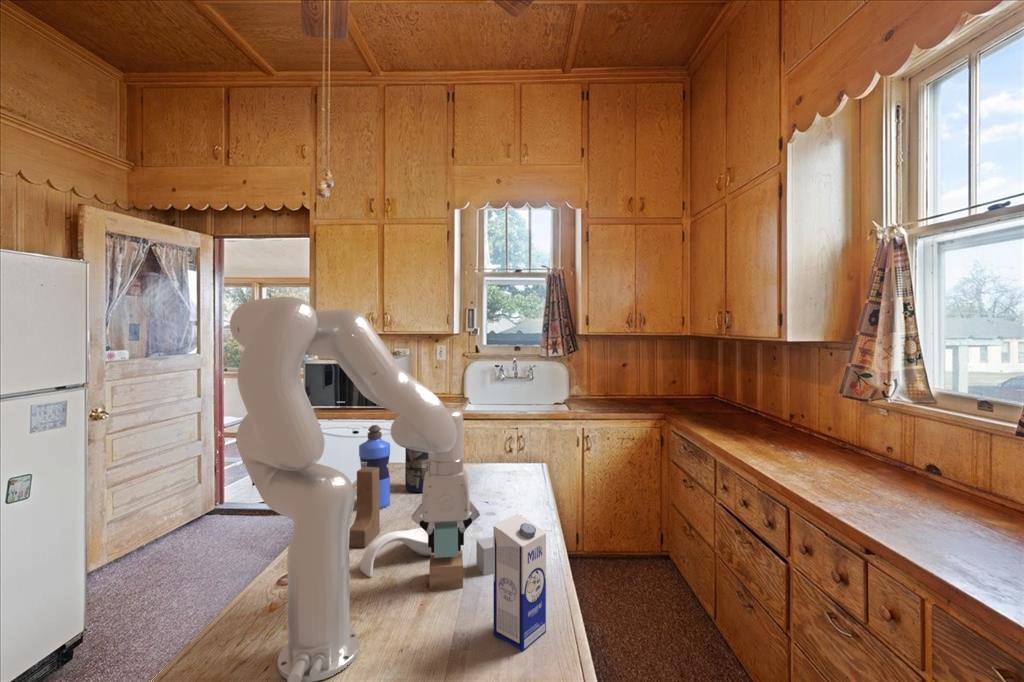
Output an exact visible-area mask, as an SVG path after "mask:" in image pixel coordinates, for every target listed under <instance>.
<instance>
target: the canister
mask: <svg viewBox="0 0 1024 682" xmlns="http://www.w3.org/2000/svg"><path fill="white" fill-rule="evenodd" d="M404 457H405V459H404V460H405V461H404V462H405V467H404V469H405V470H404V471H405V472H404V474H405V475H404V477H405V481H404V483H405V485H404V486H405V489H406V490H407V491H408V492H412V493H423V482H424V477H425V474H426V472H427V471H428V470H427V468H422V462H425V461H427V459H428V453H426V452H422V451H416V450H412V449H407V448H405V456H404Z"/></svg>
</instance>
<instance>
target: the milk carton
mask: <svg viewBox="0 0 1024 682" xmlns="http://www.w3.org/2000/svg"><path fill="white" fill-rule="evenodd" d="M492 527H493V529H492V530H493V536H492V537H493V636H494V637H495V638H497V639H500V640H501V639H502V641H503V642H505V643H506V642H507V643H506V644H508V643H509V644H508V645H510V644H511V645H510V646H512V647H514V648H515V647H516V648H515V649H517V648H518V649H517V650H519V649H520V650H519V651H521V650H522V651H521V652H524V651H525V650H526V649H528V648H529V647H530V646H531V645H533V643H535V642H536V641H537V640H538V639H540V638H541V636H543V635H544V634H546V632H547V532H546V531H544V530H543V529H541V527H539V526H537V525H536V524H535V523H533V522H532V521H530V520H529V519H527V517H523V516H522V515H520V514H518V513H516V514H514V515H512V516H509V517H508V518H505V519H504V520H502V521H499V522H496V524H493V525H492Z"/></svg>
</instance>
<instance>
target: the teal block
mask: <svg viewBox="0 0 1024 682" xmlns="http://www.w3.org/2000/svg"><path fill="white" fill-rule="evenodd" d="M454 556H458V523H457V521H454V522H436V523H435V524H434V558H439V557H454Z"/></svg>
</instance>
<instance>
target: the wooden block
mask: <svg viewBox="0 0 1024 682" xmlns="http://www.w3.org/2000/svg"><path fill="white" fill-rule="evenodd" d="M380 511H381V510H379V467H363V468H361V467H360V469H358V470H357V471H356V513H355V515H356V517H355V519H354V522H353V524H352V525H351V526H350V534H349V548H358V549H361V548H362V549H364V548H366V547H368V545H370V543H371V542H372V541H373V540H375V538H376V537H378V535H379V534H380V526H381V525H380Z"/></svg>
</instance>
